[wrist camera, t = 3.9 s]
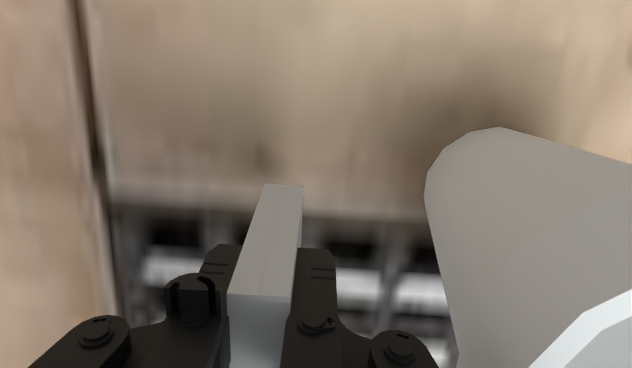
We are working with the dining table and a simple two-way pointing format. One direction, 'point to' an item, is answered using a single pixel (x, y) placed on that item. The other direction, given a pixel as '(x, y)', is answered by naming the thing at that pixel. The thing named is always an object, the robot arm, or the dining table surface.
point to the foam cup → (533, 251)
